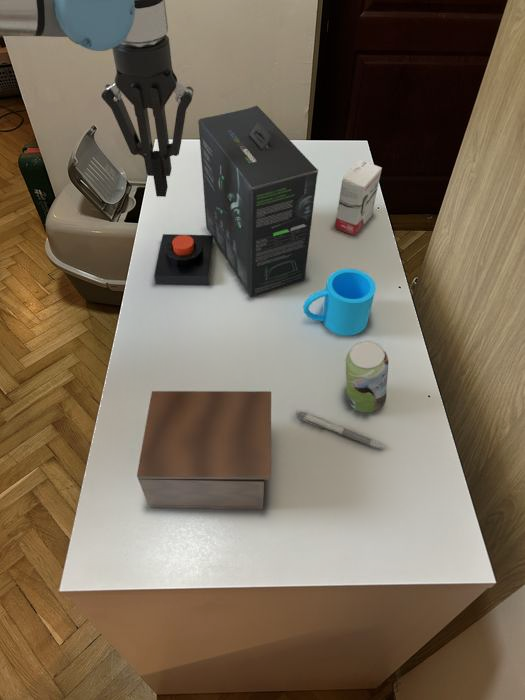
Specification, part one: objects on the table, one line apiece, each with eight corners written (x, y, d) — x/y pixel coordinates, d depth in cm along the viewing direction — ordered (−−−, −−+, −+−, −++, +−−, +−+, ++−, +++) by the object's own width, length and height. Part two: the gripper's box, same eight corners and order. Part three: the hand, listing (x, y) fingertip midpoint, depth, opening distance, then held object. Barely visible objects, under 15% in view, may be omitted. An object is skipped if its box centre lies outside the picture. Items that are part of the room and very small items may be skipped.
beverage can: (389, 413, 82) (406, 366, 73) (343, 419, 82) (354, 373, 72) (377, 380, 86) (392, 332, 77) (333, 386, 85) (342, 338, 76)
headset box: (307, 281, 101) (321, 157, 80) (250, 300, 97) (249, 176, 77) (256, 214, 113) (257, 92, 93) (204, 229, 110) (193, 106, 90)
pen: (296, 413, 82) (297, 408, 81) (383, 447, 79) (385, 443, 78) (294, 418, 82) (294, 413, 80) (381, 453, 78) (383, 448, 77)
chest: (264, 429, 80) (265, 396, 73) (263, 509, 72) (264, 481, 66) (161, 427, 80) (152, 394, 73) (148, 507, 72) (137, 479, 66)
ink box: (354, 237, 109) (364, 187, 100) (333, 228, 111) (340, 178, 101) (372, 215, 114) (383, 166, 104) (352, 207, 115) (361, 158, 106)
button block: (155, 284, 100) (152, 268, 96) (164, 242, 107) (161, 226, 104) (208, 285, 100) (207, 269, 96) (213, 243, 107) (212, 227, 104)
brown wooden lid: (271, 394, 73) (271, 391, 72) (270, 479, 65) (270, 476, 64) (152, 394, 73) (151, 391, 73) (137, 478, 65) (136, 476, 65)
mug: (360, 299, 98) (367, 266, 91) (373, 332, 93) (382, 300, 86) (296, 306, 96) (299, 273, 90) (306, 340, 91) (310, 308, 85)
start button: (172, 255, 99) (170, 248, 98) (174, 241, 102) (173, 234, 100) (193, 256, 99) (192, 249, 98) (195, 242, 102) (194, 235, 100)
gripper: (192, 25, 72) (203, 179, 90) (95, 23, 71) (126, 177, 90) (186, 48, 67) (199, 206, 85) (82, 46, 67) (118, 204, 85)
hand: (162, 191), depth 87 cm, fingers closed
